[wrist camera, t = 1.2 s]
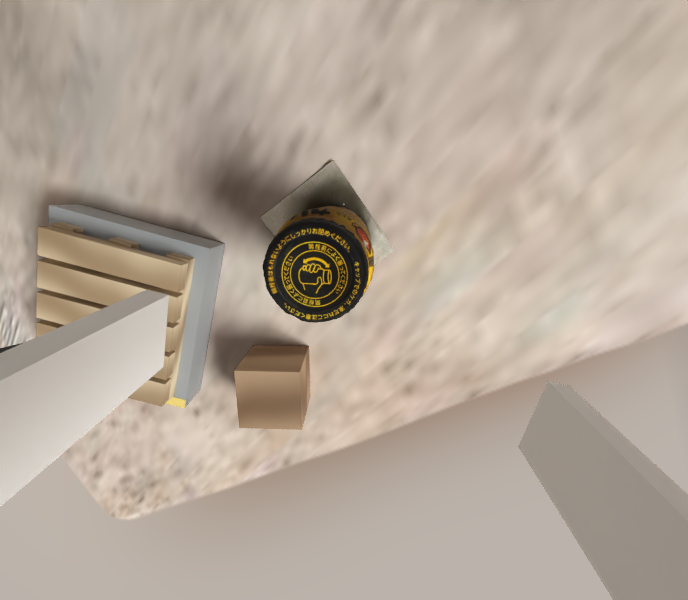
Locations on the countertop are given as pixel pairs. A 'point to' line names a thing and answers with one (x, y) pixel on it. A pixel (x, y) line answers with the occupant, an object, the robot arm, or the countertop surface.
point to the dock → (162, 244)
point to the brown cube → (273, 387)
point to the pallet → (111, 289)
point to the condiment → (322, 248)
